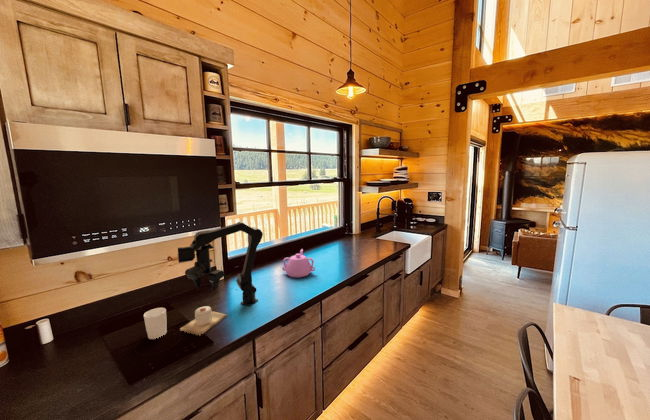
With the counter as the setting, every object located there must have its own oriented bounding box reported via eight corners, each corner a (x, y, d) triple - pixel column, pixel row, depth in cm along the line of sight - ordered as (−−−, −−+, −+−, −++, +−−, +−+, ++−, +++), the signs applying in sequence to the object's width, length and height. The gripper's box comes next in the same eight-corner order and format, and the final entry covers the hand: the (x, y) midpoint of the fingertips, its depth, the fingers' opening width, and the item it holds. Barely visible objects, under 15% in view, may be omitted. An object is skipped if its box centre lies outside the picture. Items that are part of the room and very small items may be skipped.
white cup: (164, 326, 117) (161, 305, 116) (171, 333, 112) (168, 311, 111) (143, 335, 111) (140, 313, 110) (150, 342, 106) (147, 319, 105)
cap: (214, 321, 119) (213, 309, 118) (198, 327, 115) (197, 314, 114) (209, 315, 124) (208, 303, 123) (194, 320, 119) (192, 309, 119)
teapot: (317, 267, 187) (317, 248, 185) (313, 279, 165) (312, 258, 163) (287, 266, 189) (286, 248, 187) (279, 279, 168) (278, 258, 166)
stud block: (208, 312, 129) (207, 302, 128) (226, 316, 125) (225, 305, 124) (180, 330, 114) (178, 319, 113) (199, 335, 110) (198, 324, 109)
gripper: (173, 262, 119) (176, 294, 121) (205, 266, 113) (208, 301, 115) (193, 254, 129) (196, 285, 132) (224, 258, 123) (226, 290, 125)
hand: (206, 290), depth 126 cm, fingers open, 9 cm apart
